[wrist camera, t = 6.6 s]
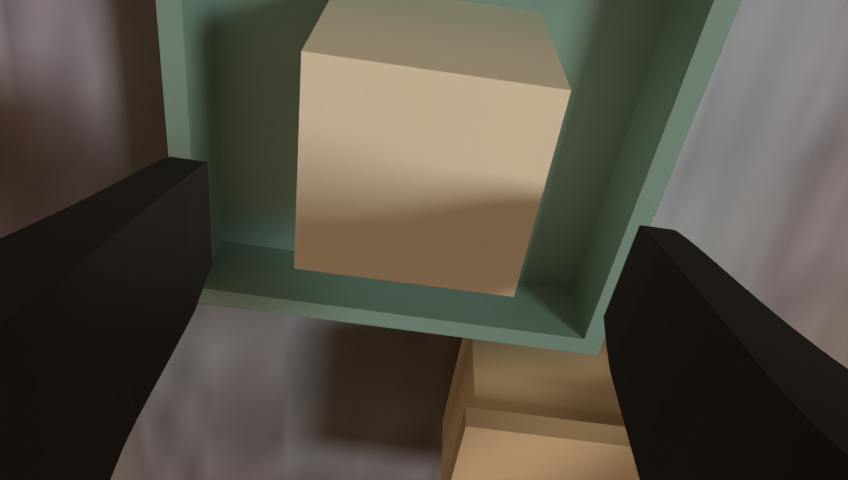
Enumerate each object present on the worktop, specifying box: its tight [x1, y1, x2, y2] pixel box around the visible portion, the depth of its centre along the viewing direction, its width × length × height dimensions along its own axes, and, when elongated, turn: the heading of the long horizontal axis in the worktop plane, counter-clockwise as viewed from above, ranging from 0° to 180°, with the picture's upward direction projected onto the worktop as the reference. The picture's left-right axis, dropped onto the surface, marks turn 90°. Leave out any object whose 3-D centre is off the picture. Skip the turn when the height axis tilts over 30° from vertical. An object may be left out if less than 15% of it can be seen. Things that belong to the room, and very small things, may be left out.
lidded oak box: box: [442, 337, 640, 480], centre depth 20 cm, size 9×6×5 cm, turn 82°
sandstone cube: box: [294, 0, 571, 297], centre depth 14 cm, size 4×4×4 cm
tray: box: [156, 0, 741, 355], centre depth 15 cm, size 11×11×2 cm
